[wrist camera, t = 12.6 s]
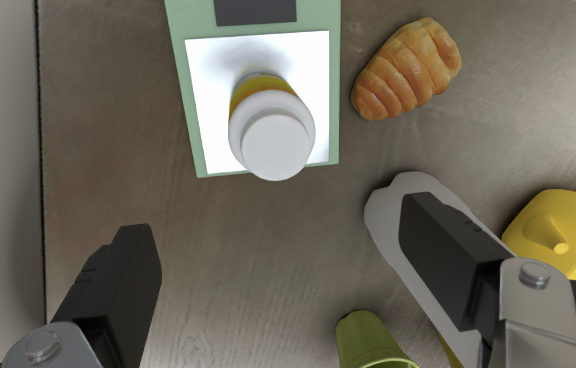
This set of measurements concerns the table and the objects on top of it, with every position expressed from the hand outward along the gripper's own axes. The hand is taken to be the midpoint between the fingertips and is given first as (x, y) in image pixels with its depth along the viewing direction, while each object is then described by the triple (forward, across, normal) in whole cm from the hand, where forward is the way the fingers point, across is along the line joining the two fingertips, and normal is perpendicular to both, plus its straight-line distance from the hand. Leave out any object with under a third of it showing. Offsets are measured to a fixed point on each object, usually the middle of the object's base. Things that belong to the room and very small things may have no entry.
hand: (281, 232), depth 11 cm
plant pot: (+22, -11, +31) cm, 40 cm away
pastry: (+22, -14, -1) cm, 26 cm away
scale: (+22, -1, -1) cm, 22 cm away
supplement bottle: (+19, -1, +1) cm, 19 cm away
